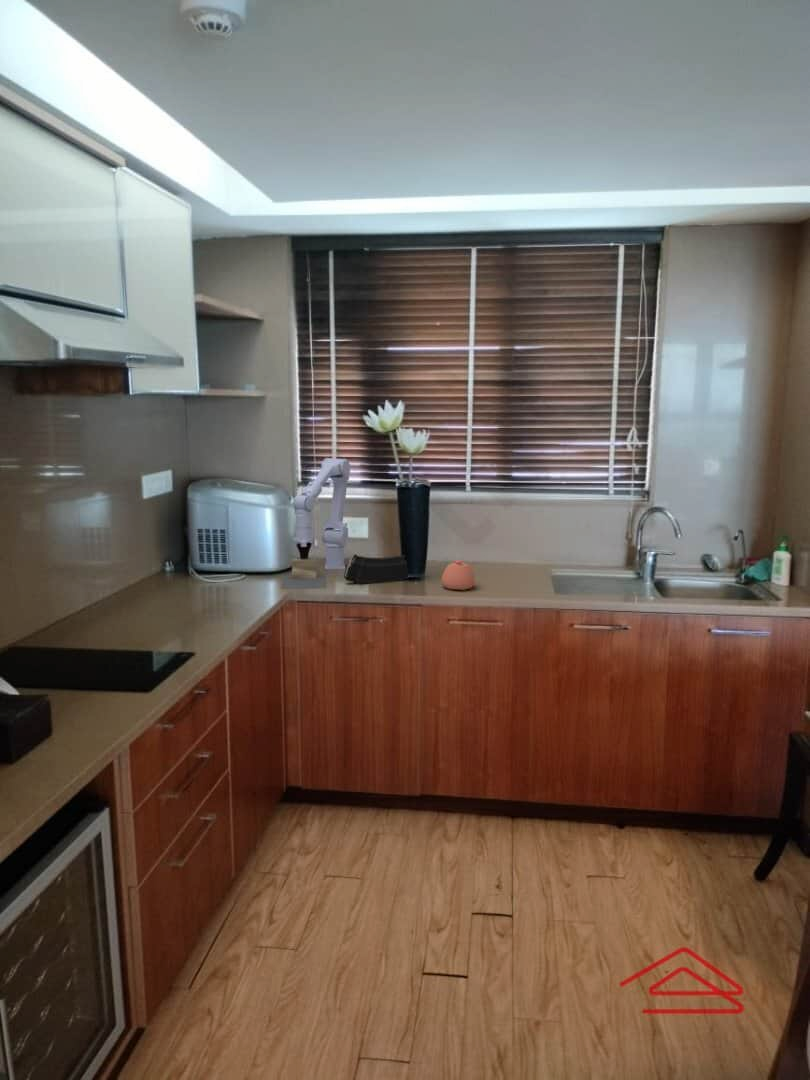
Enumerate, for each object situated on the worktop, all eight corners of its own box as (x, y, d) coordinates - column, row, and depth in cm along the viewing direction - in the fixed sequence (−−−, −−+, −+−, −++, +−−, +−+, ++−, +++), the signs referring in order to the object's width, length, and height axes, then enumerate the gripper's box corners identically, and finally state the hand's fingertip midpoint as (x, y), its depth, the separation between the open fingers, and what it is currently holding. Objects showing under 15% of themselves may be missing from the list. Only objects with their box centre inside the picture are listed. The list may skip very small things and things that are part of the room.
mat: (283, 575, 286) (283, 575, 286) (325, 575, 288) (325, 574, 288) (281, 589, 265) (281, 588, 265) (326, 588, 267) (326, 588, 267)
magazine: (423, 553, 287) (354, 536, 273) (427, 555, 284) (357, 537, 270) (411, 596, 288) (341, 581, 274) (415, 598, 285) (345, 583, 271)
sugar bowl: (437, 590, 267) (437, 562, 265) (447, 582, 280) (448, 555, 278) (470, 593, 263) (471, 565, 261) (479, 584, 276) (480, 557, 274)
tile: (292, 576, 283) (292, 558, 281) (316, 576, 284) (316, 558, 282) (292, 578, 281) (292, 560, 279) (316, 578, 282) (316, 560, 280)
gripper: (293, 523, 287) (294, 558, 290) (292, 530, 273) (293, 566, 276) (312, 523, 288) (312, 558, 291) (311, 529, 274) (312, 566, 276)
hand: (304, 562), depth 283 cm, fingers closed
